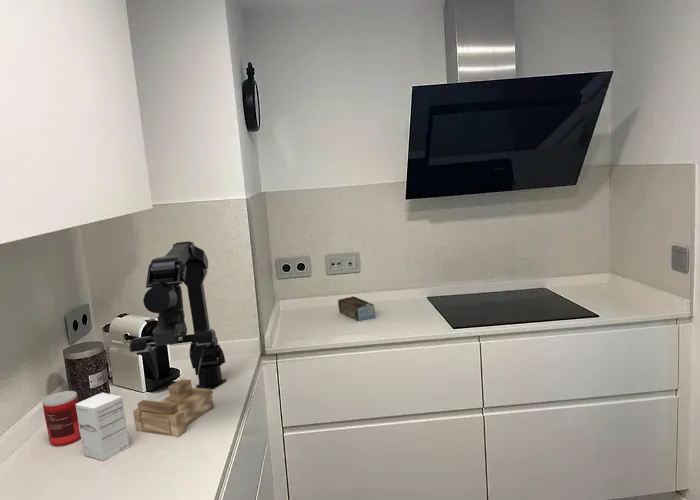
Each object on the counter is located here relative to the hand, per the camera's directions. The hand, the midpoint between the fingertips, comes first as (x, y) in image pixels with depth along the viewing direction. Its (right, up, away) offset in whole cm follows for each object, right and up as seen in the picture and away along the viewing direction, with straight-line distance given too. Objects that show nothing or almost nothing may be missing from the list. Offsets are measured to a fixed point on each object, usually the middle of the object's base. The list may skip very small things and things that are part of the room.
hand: (177, 377), depth 130 cm
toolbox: (-3, -14, +12) cm, 18 cm away
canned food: (-29, -17, +7) cm, 34 cm away
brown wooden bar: (-6, -9, +5) cm, 12 cm away
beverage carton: (+43, +2, +98) cm, 107 cm away
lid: (-3, -10, +12) cm, 15 cm away
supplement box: (-16, -17, -2) cm, 23 cm away
